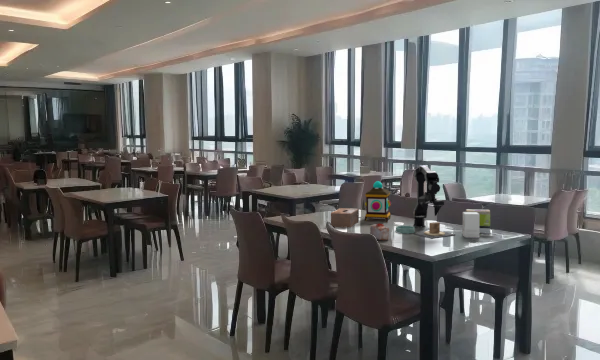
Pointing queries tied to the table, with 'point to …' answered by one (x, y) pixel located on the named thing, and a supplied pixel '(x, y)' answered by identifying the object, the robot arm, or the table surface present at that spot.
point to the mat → (434, 236)
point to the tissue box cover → (345, 217)
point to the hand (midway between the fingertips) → (430, 214)
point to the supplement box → (470, 224)
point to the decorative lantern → (377, 202)
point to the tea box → (482, 220)
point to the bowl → (405, 229)
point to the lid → (434, 229)
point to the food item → (379, 231)
